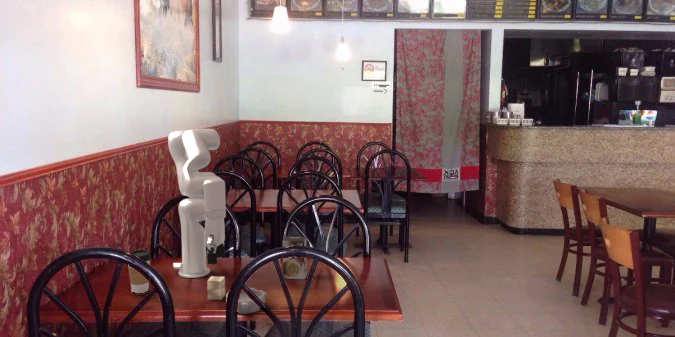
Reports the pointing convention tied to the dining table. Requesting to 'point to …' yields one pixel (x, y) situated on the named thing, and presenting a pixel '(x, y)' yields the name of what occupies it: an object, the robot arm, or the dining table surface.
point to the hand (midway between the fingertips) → (216, 260)
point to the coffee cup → (136, 278)
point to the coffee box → (295, 260)
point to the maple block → (216, 288)
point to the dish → (249, 301)
